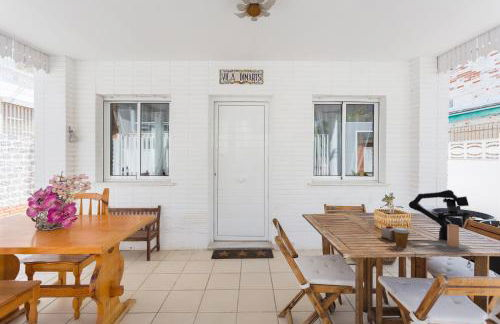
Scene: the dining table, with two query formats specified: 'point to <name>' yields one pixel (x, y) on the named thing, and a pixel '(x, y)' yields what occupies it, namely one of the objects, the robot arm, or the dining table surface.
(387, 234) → the food item
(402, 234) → the disposable coffee cup
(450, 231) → the tan tall block
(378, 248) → the dining table surface
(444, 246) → the mat
